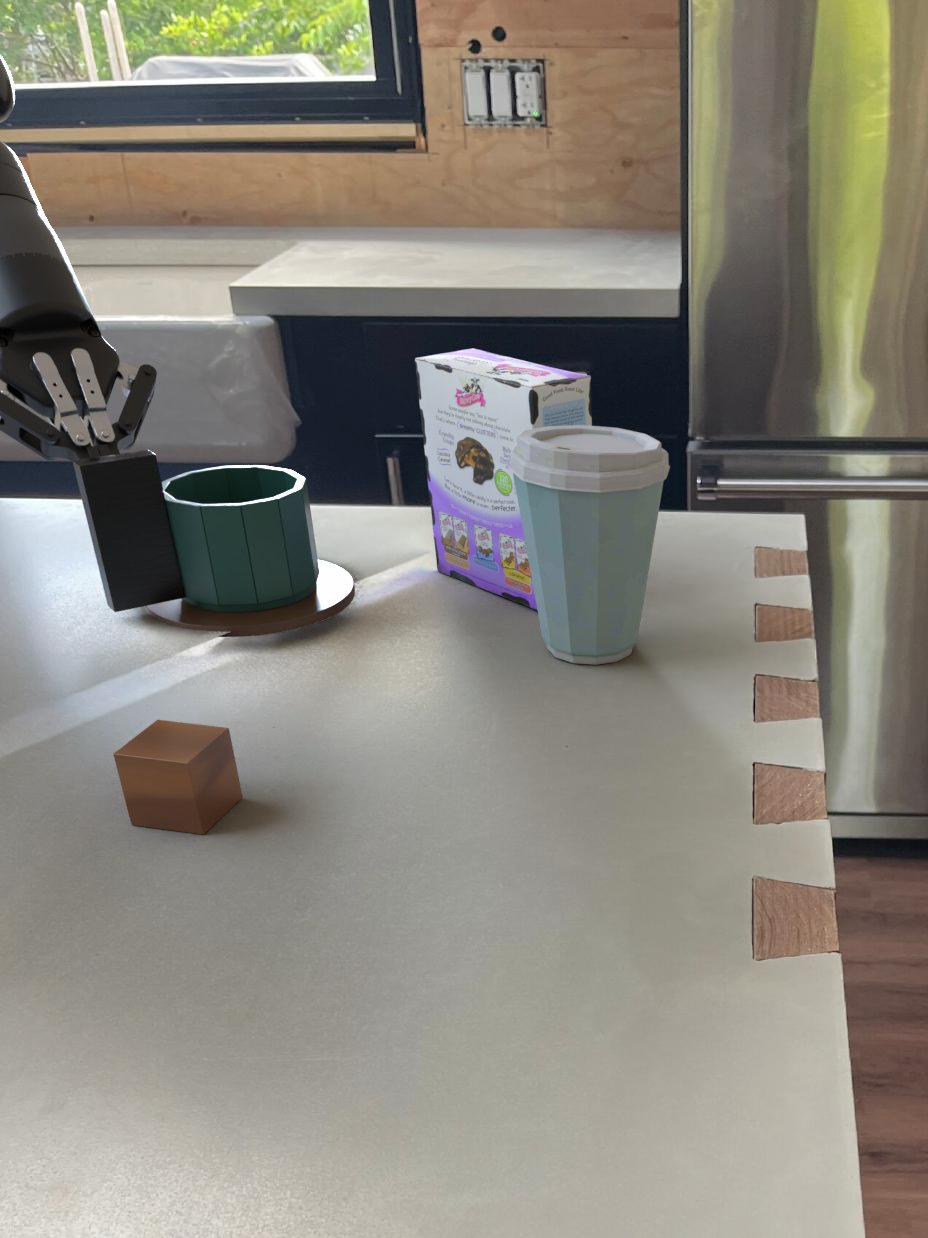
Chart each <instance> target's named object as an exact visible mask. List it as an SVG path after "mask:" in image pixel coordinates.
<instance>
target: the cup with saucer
mask: <svg viewBox="0 0 928 1238" xmlns="http://www.w3.org/2000/svg"><path fill="white" fill-rule="evenodd" d="M72 464H73V468H74V469H73V470H74V471H75V472H74V473H75V477H76V482H77V486H78V489H79V494H80V498H81V501H82V505H83V510H84V514H85V517H86V522H87V527H88V530H89V534H90V539H91V542H92V547H93V550H94V555H95V558H96V559H95V560H96V563H97V567H98V571H99V575H100V580H101V584H102V588H103V592H104V596H105V599H106V600H105V601H106V604H107V606H108V607H109V608H110V609H111V611H113V612H114V613H119V612H123V611H128V610H132V609H137V608H143V607H144V609H145V611H146V612H147V613H148V614H149V615H150V616H151V617H152V618H154V619H155V620H158V621H159V622H162V623H164V624H167V625H169V626H174V627H178V628H181V629H182V628H183V629H186V630H193V631H204V632H221V633H222V632H226V633H224V634H220V635H218V636H217V638H245V637H246V638H247V637H257V636H267V635H274V634H279V633H285V632H290V631H295V630H298V629H302V628H306V627H309V626H313V625H315V624H318V623H321V622H323V621H326V620H328V619H330V618H332V617H334V616H336V615H338V614H339V613H341V612H343V611H344V610H345V609H346V608H347V607H349V606H350V605H351V604H352V602H353V601H354V598H355V596H356V588H355V582H354V579H353V576H352V575H351V574H350V572H349V571H347V570H346V569H345V568H343V567H340V566H339V565H337V564H334V563H332V562H329V561H325V560H321V559H319V557H318V551H317V545H316V544H317V543H316V538H315V530H314V524H313V517H312V510H311V505H310V497H309V490H308V483H307V478H306V477H305V476H303V475H301V474H299V473H297V472H296V471H294V470H292V469H288V468H282V467H275V466H269V465H262V464H261V465H260V464H253V465H252V464H251V465H249V464H248V465H247V464H246V465H245V464H244V465H243V464H241V465H221V466H215V467H208V468H207V467H206V468H202V469H195V470H189V471H186V472H183V473H181V474H177V475H175V476H173V477H170V478H167V479H164V480H163V481H162V477H161V472H160V469H159V463H158V459H157V454H156V453H154V452H152V451H151V450H149V449H141V450H134V451H128V452H120V454H114V455H107V456H100V457H94V458H87V459H80V460H73V462H72Z"/></svg>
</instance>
